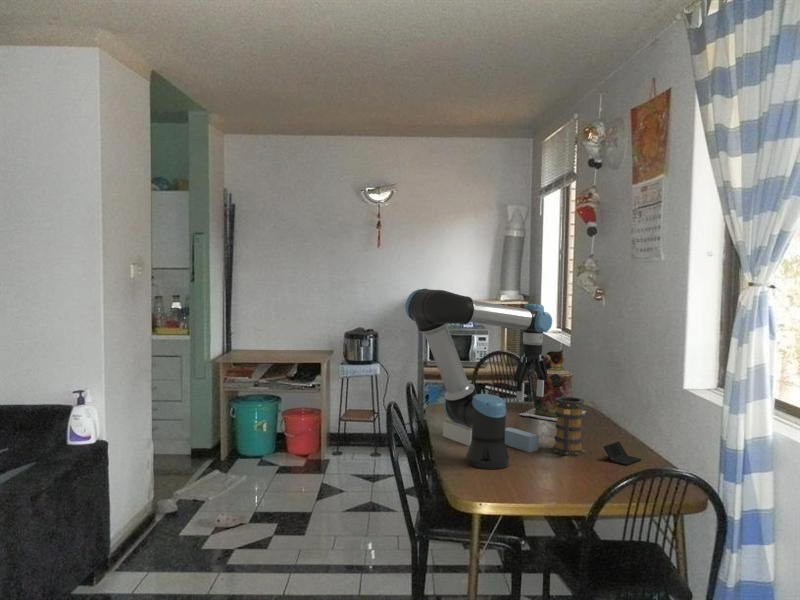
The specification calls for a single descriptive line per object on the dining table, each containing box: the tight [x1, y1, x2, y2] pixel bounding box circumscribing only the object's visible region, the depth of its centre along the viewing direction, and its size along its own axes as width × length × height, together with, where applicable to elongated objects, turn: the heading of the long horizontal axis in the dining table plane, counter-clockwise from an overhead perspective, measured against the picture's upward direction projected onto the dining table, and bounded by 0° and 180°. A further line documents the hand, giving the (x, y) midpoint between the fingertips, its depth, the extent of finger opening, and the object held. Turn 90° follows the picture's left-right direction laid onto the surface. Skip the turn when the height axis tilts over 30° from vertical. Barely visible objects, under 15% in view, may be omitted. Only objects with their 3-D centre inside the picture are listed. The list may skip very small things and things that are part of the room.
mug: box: [550, 396, 588, 457], centre depth 246 cm, size 13×17×20 cm
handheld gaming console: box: [603, 441, 642, 467], centre depth 239 cm, size 12×7×10 cm
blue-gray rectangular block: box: [505, 427, 539, 453], centre depth 255 cm, size 5×15×6 cm, turn 36°
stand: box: [442, 417, 472, 447], centre depth 265 cm, size 14×18×7 cm
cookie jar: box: [519, 348, 587, 422], centre depth 312 cm, size 25×25×32 cm
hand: (530, 398), depth 257 cm, fingers open, 13 cm apart
